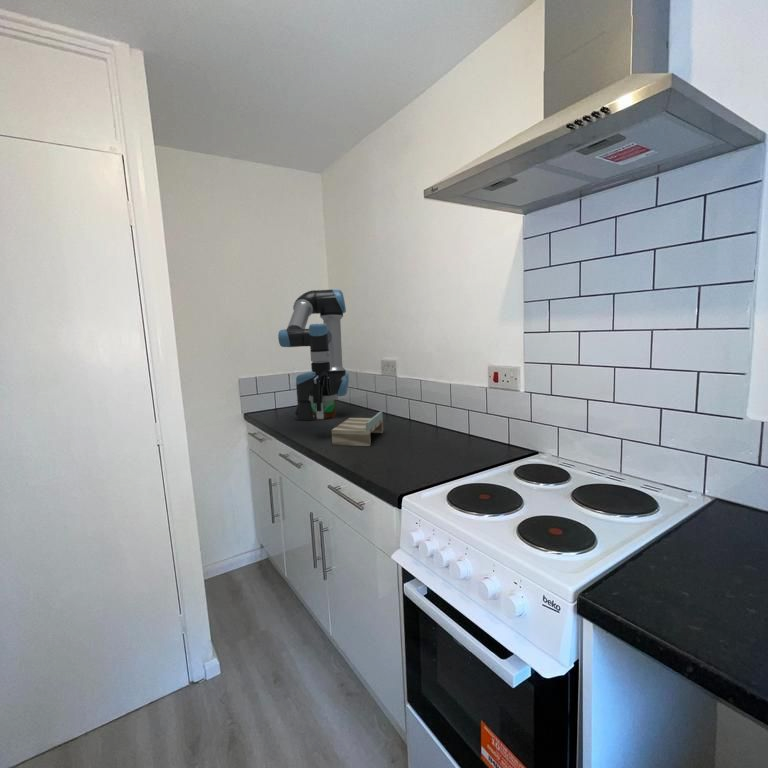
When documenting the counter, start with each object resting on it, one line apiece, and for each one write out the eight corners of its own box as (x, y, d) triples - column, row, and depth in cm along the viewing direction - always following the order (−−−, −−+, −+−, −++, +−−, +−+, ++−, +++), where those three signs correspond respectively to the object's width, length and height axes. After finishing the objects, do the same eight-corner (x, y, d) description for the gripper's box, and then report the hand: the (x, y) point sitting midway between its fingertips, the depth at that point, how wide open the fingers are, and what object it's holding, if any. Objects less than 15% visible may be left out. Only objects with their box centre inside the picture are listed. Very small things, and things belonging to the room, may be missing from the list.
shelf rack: (350, 431, 184) (349, 411, 183) (383, 431, 180) (382, 411, 179) (332, 445, 163) (331, 422, 162) (369, 446, 159) (368, 423, 158)
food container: (307, 421, 171) (306, 397, 170) (310, 417, 177) (308, 394, 176) (338, 420, 172) (336, 396, 170) (339, 416, 178) (337, 393, 176)
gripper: (319, 364, 161) (323, 422, 164) (337, 359, 180) (340, 411, 183) (301, 364, 163) (305, 422, 166) (321, 359, 181) (324, 411, 185)
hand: (323, 416), depth 175 cm, fingers closed on food container, 7 cm apart
